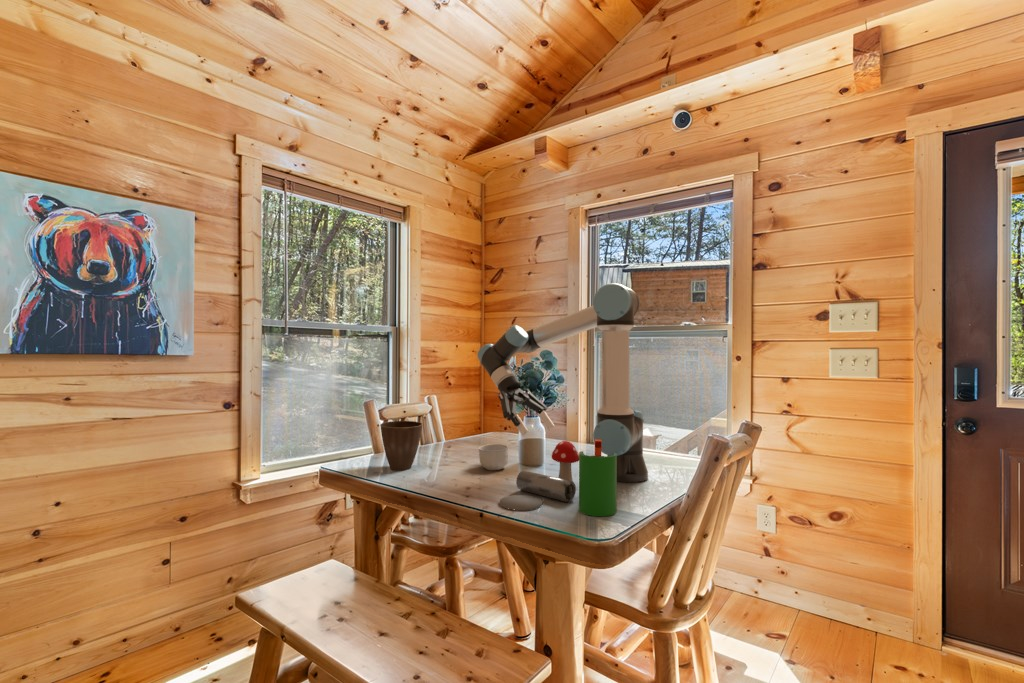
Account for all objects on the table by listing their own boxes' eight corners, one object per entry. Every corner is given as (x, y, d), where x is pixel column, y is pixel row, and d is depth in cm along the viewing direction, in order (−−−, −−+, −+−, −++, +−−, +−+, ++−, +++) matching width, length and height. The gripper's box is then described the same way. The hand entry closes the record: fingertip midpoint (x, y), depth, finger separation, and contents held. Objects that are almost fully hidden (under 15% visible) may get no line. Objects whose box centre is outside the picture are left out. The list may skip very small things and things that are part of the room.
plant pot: (425, 463, 196) (425, 420, 196) (418, 473, 181) (418, 427, 181) (385, 463, 196) (385, 420, 196) (375, 473, 181) (375, 427, 181)
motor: (612, 506, 147) (613, 435, 147) (620, 516, 138) (620, 441, 138) (576, 506, 146) (577, 435, 146) (582, 516, 137) (582, 441, 137)
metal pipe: (528, 487, 164) (528, 468, 164) (576, 500, 152) (576, 479, 152) (515, 491, 160) (515, 472, 160) (563, 504, 147) (564, 483, 147)
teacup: (510, 471, 185) (510, 449, 185) (480, 472, 183) (480, 449, 183) (504, 462, 198) (504, 441, 198) (476, 463, 197) (476, 442, 197)
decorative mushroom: (546, 485, 167) (546, 439, 167) (571, 483, 169) (571, 437, 169) (559, 494, 157) (559, 444, 157) (584, 492, 160) (585, 443, 160)
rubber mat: (519, 495, 156) (519, 492, 156) (550, 503, 148) (550, 501, 148) (490, 504, 147) (490, 501, 147) (522, 513, 139) (522, 510, 139)
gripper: (524, 386, 192) (555, 432, 182) (474, 391, 173) (506, 442, 163) (535, 373, 188) (568, 419, 178) (486, 376, 170) (519, 427, 160)
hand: (539, 430), depth 171 cm, fingers open, 13 cm apart
